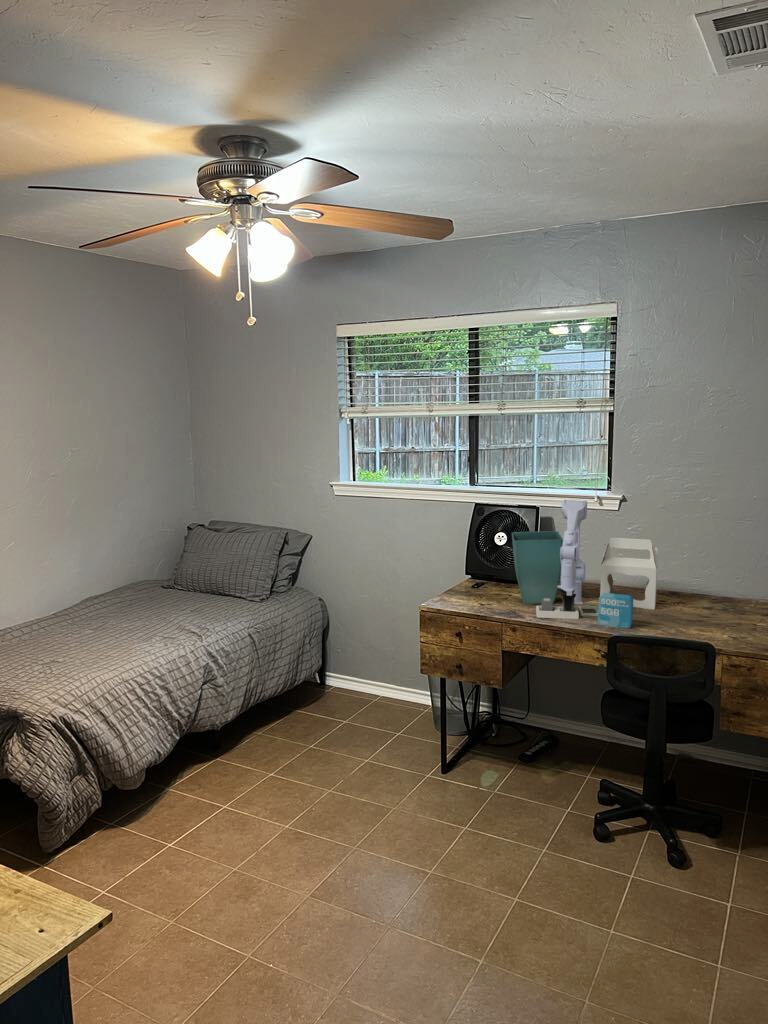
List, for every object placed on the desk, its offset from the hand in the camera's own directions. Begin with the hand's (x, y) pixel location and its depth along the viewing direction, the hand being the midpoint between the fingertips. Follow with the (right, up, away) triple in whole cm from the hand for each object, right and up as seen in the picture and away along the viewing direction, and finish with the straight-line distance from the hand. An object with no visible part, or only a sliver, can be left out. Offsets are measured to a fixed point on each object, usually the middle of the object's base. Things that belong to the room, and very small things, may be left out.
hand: (567, 608), depth 299 cm
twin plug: (-8, -3, +2) cm, 8 cm away
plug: (0, -2, 0) cm, 2 cm away
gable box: (+30, 0, +19) cm, 36 cm away
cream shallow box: (-4, -3, +1) cm, 5 cm away
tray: (+12, -3, +5) cm, 13 cm away
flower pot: (-7, 0, +24) cm, 25 cm away
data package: (+15, -5, -12) cm, 20 cm away
